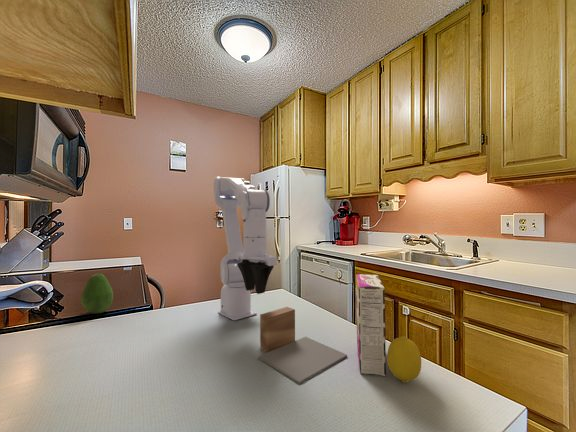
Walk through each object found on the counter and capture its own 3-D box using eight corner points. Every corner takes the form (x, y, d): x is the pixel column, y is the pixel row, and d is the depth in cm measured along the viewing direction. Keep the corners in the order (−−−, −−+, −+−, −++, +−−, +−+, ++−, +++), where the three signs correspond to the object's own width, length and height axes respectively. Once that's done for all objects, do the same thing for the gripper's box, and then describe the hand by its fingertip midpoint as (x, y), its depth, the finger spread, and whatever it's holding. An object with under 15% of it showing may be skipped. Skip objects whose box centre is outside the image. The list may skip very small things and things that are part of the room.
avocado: (98, 308, 89) (98, 270, 89) (119, 309, 87) (119, 271, 87) (74, 317, 81) (74, 276, 81) (96, 318, 79) (97, 277, 79)
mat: (258, 358, 57) (258, 356, 57) (305, 338, 66) (305, 336, 66) (299, 384, 48) (299, 381, 48) (347, 356, 57) (347, 354, 57)
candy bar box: (355, 347, 62) (355, 273, 62) (379, 349, 61) (378, 274, 61) (358, 375, 51) (357, 285, 51) (386, 378, 50) (386, 286, 50)
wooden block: (259, 348, 61) (259, 314, 61) (286, 337, 67) (286, 306, 67) (268, 353, 59) (267, 317, 59) (295, 341, 65) (294, 309, 65)
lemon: (383, 373, 51) (383, 329, 51) (413, 373, 51) (413, 330, 51) (393, 391, 46) (393, 343, 46) (427, 392, 46) (427, 343, 46)
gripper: (226, 236, 72) (226, 289, 72) (259, 239, 62) (259, 300, 61) (248, 235, 77) (249, 284, 77) (282, 237, 66) (283, 294, 66)
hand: (255, 291), depth 69 cm, fingers open, 4 cm apart
